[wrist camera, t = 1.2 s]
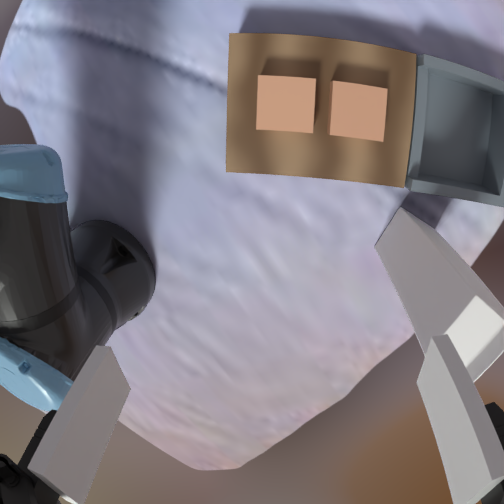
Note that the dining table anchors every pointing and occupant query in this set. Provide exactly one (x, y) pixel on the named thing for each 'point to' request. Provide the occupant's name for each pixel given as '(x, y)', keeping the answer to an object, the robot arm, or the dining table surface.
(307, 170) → the board
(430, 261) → the milk
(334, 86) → the tile
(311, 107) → the tile
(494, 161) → the tray
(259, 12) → the dining table surface
